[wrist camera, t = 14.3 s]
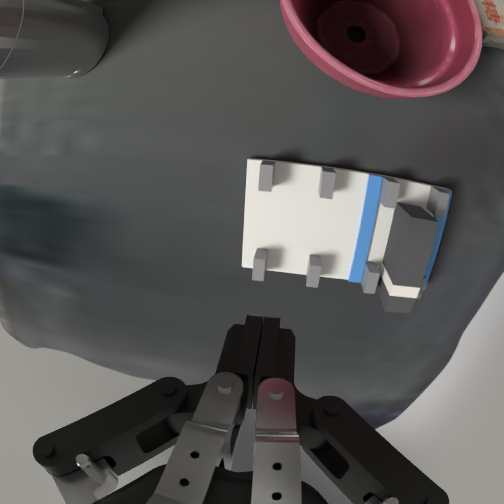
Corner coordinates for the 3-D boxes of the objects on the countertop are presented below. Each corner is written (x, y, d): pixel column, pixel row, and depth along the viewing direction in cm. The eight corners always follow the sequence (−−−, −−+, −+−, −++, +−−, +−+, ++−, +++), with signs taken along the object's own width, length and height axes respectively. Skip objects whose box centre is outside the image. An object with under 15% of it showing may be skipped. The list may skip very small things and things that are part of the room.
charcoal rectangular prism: (395, 201, 29) (411, 217, 24) (421, 206, 28) (439, 222, 24) (375, 285, 33) (384, 311, 28) (399, 288, 33) (410, 313, 28)
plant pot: (445, 51, 21) (513, 29, 10) (365, 132, 27) (408, 143, 16) (343, -38, 19) (360, -102, 8) (257, 40, 25) (228, -6, 13)
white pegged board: (249, 157, 30) (243, 162, 27) (447, 188, 28) (461, 196, 25) (243, 262, 35) (237, 277, 32) (422, 283, 33) (431, 299, 30)
